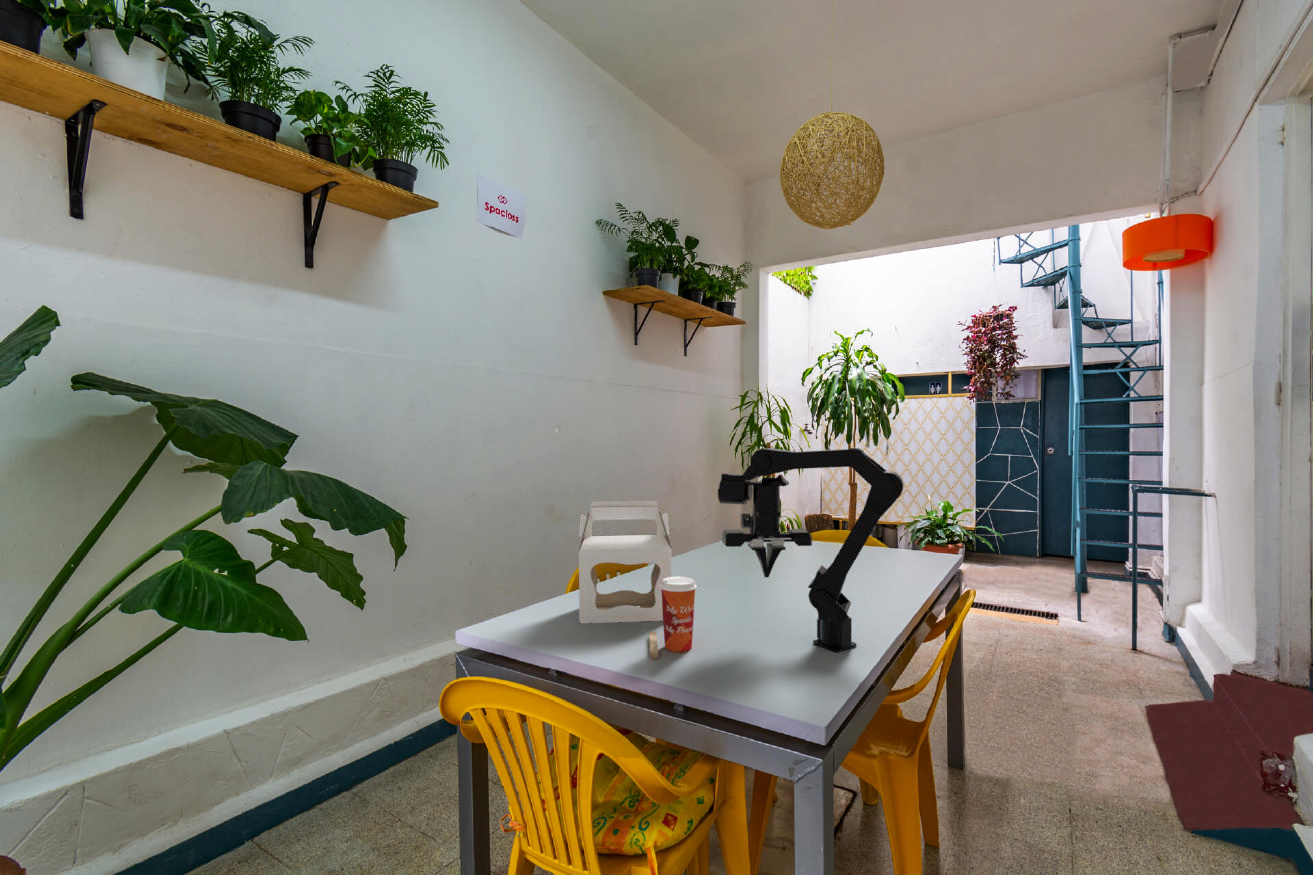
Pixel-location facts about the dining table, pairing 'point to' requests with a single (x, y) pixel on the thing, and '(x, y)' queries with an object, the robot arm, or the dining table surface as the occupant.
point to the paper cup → (678, 612)
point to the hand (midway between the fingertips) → (766, 576)
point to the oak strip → (653, 645)
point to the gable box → (623, 552)
